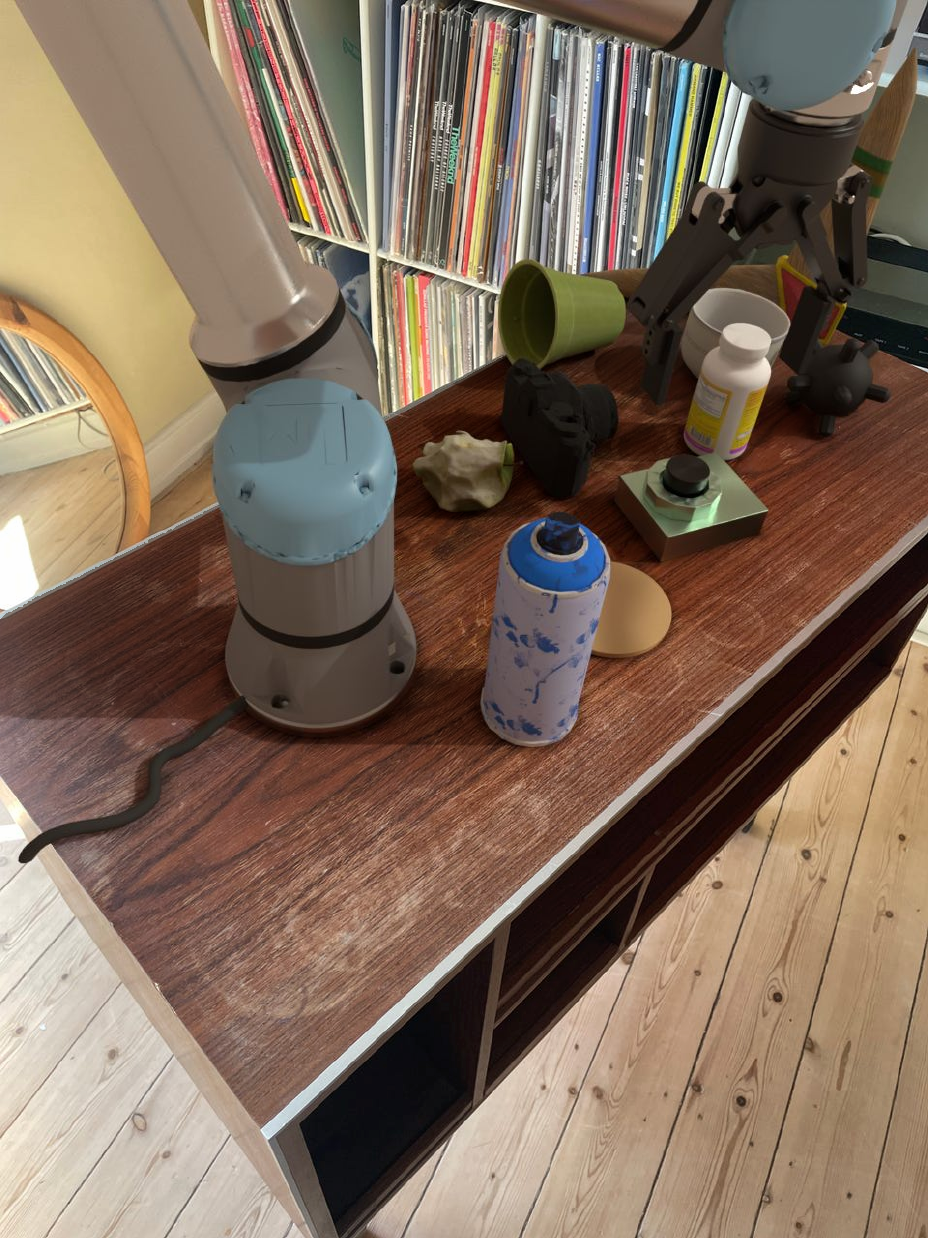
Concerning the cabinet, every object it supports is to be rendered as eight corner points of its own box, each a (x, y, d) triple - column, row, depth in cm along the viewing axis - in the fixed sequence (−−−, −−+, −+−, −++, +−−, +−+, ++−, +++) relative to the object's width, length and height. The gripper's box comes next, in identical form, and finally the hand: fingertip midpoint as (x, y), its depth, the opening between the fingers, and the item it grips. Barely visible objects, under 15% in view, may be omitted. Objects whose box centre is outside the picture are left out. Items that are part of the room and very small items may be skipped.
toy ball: (806, 426, 109) (822, 468, 99) (757, 354, 105) (769, 390, 95) (894, 372, 104) (920, 411, 94) (846, 294, 100) (868, 326, 90)
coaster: (581, 673, 77) (582, 668, 77) (524, 581, 84) (525, 577, 83) (693, 638, 81) (695, 633, 80) (631, 552, 87) (632, 548, 87)
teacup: (683, 339, 112) (699, 276, 106) (774, 359, 110) (796, 297, 104) (662, 404, 103) (679, 340, 97) (761, 427, 101) (784, 364, 95)
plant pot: (590, 382, 112) (511, 388, 107) (569, 286, 113) (488, 288, 107) (651, 343, 102) (566, 348, 97) (627, 238, 102) (541, 238, 97)
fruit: (528, 504, 93) (542, 452, 86) (452, 546, 89) (460, 495, 82) (473, 442, 96) (482, 387, 89) (398, 480, 92) (401, 426, 85)
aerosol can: (587, 682, 77) (634, 499, 62) (564, 759, 72) (609, 580, 57) (496, 656, 78) (520, 470, 63) (467, 730, 73) (486, 547, 58)
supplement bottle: (741, 427, 101) (778, 320, 91) (748, 466, 96) (787, 358, 87) (679, 420, 101) (709, 313, 91) (683, 459, 97) (715, 351, 87)
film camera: (637, 486, 93) (656, 412, 87) (549, 506, 91) (562, 431, 84) (570, 399, 102) (583, 325, 96) (489, 415, 100) (496, 340, 93)
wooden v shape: (906, 68, 87) (915, 43, 91) (578, 276, 117) (595, 251, 121) (1004, 263, 96) (1009, 234, 99) (675, 411, 125) (688, 384, 129)
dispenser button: (676, 503, 85) (681, 486, 83) (653, 476, 87) (658, 458, 86) (713, 493, 86) (718, 476, 85) (690, 467, 89) (695, 449, 87)
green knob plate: (660, 562, 86) (672, 522, 83) (613, 500, 92) (623, 460, 88) (758, 534, 90) (774, 495, 86) (708, 476, 95) (721, 437, 91)
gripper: (673, 147, 55) (611, 435, 71) (995, 108, 62) (873, 378, 78) (614, 98, 60) (568, 380, 76) (921, 67, 67) (819, 331, 83)
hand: (723, 379), depth 77 cm, fingers open, 13 cm apart
